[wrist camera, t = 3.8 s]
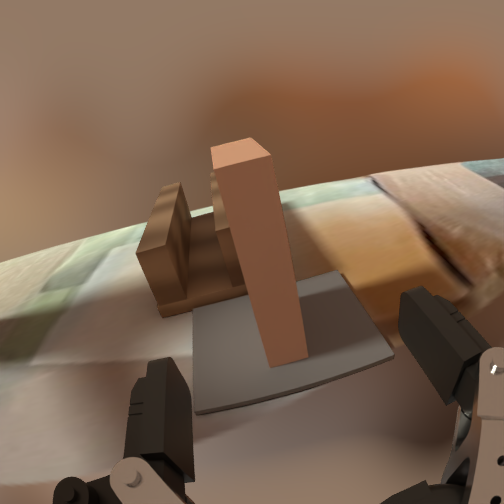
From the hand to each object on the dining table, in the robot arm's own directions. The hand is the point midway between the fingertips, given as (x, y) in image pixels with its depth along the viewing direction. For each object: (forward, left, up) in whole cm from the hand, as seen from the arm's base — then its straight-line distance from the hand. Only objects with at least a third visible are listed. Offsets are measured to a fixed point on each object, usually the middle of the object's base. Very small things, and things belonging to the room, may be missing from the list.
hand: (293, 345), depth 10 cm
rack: (-12, +20, -8) cm, 24 cm away
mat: (-3, +8, -8) cm, 11 cm away
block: (-3, +8, -7) cm, 11 cm away
